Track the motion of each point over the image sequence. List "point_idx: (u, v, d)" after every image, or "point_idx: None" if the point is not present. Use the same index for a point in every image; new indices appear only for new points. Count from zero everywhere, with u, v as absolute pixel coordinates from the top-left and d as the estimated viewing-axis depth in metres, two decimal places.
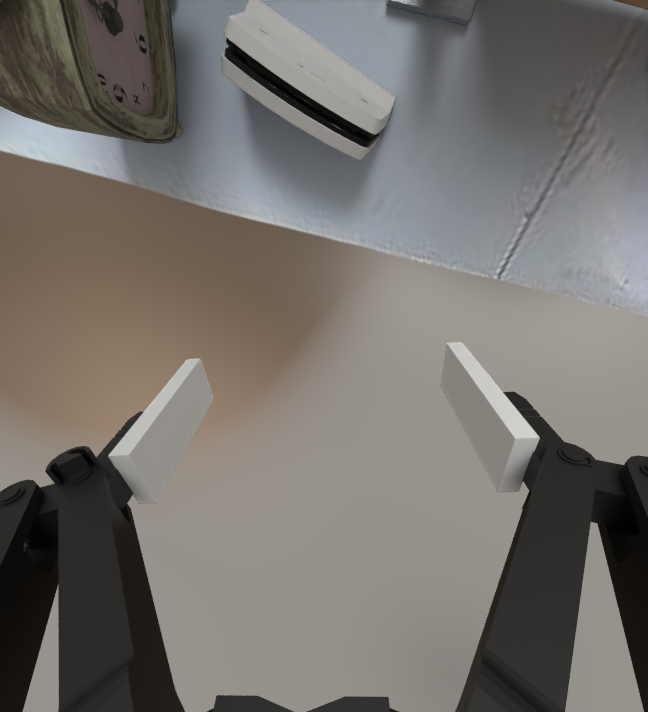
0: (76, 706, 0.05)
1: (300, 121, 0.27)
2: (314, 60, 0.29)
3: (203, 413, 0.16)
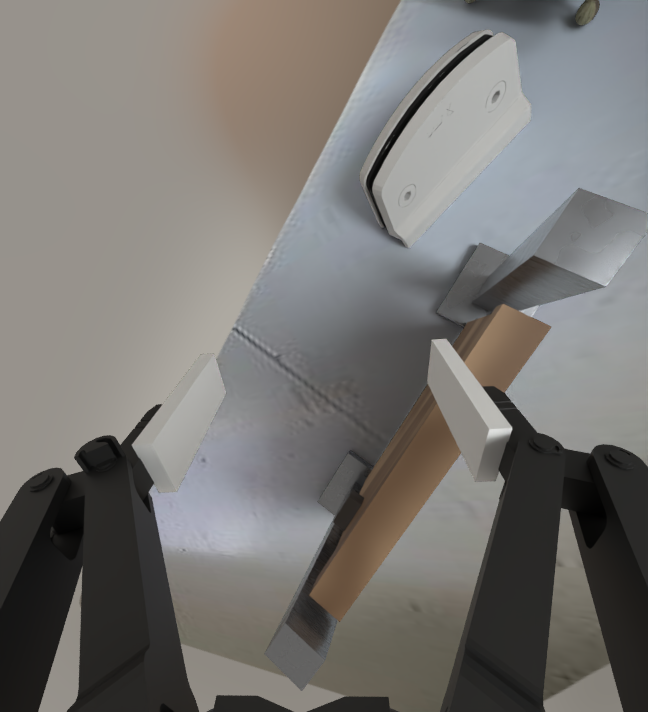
0: (93, 692, 0.05)
1: (404, 102, 0.26)
2: (459, 160, 0.29)
3: (216, 407, 0.16)
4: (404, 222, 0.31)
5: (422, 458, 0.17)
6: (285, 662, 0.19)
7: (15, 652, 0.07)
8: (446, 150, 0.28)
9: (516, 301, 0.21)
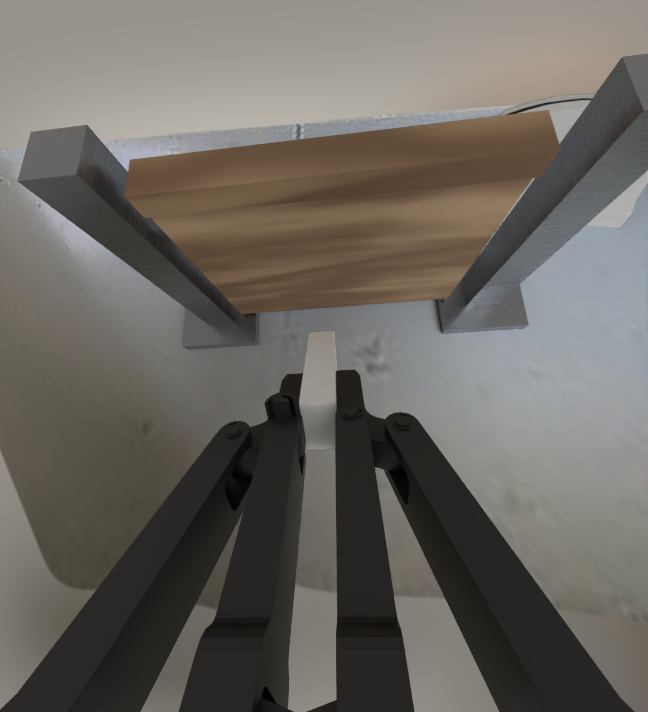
0: (224, 630, 0.06)
1: (583, 94, 0.27)
2: None
3: None
4: None
5: (359, 147, 0.15)
6: (38, 150, 0.14)
7: (177, 581, 0.08)
8: None
9: (513, 239, 0.21)
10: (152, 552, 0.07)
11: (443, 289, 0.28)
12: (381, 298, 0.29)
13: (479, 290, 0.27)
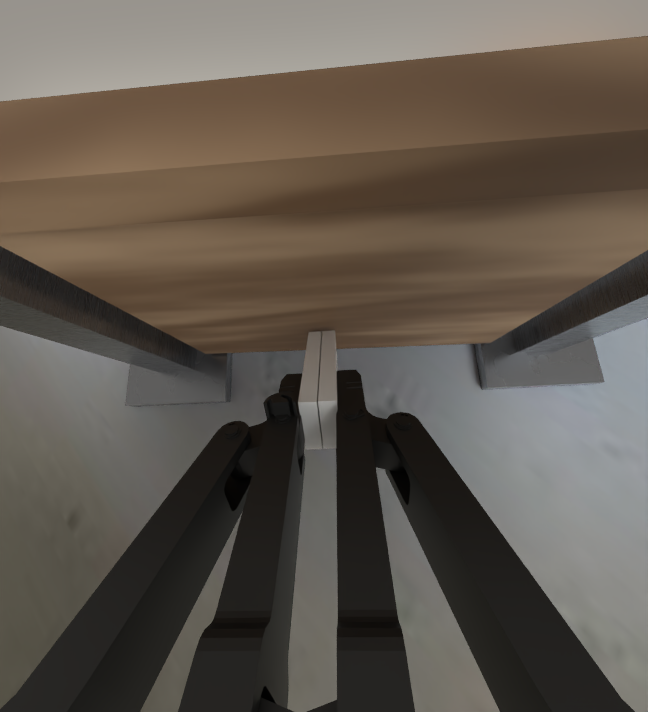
0: (223, 631, 0.06)
1: None
2: None
3: None
4: None
5: (407, 94, 0.06)
6: None
7: (177, 581, 0.08)
8: None
9: (631, 278, 0.13)
10: (151, 552, 0.07)
11: (489, 334, 0.20)
12: (400, 342, 0.21)
13: (543, 338, 0.19)
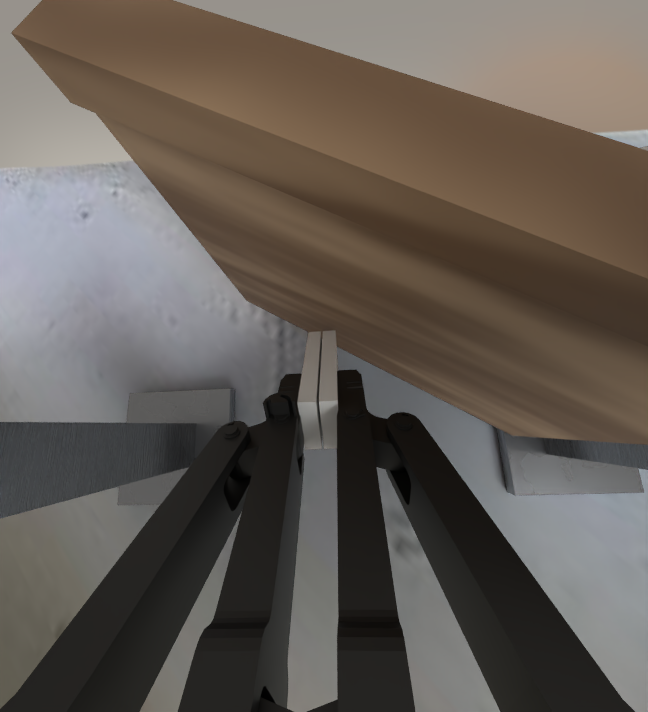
0: (222, 630, 0.06)
1: None
2: None
3: None
4: None
5: (538, 162, 0.05)
6: None
7: (176, 582, 0.08)
8: None
9: None
10: (150, 553, 0.07)
11: (514, 428, 0.18)
12: (424, 386, 0.20)
13: (581, 456, 0.17)
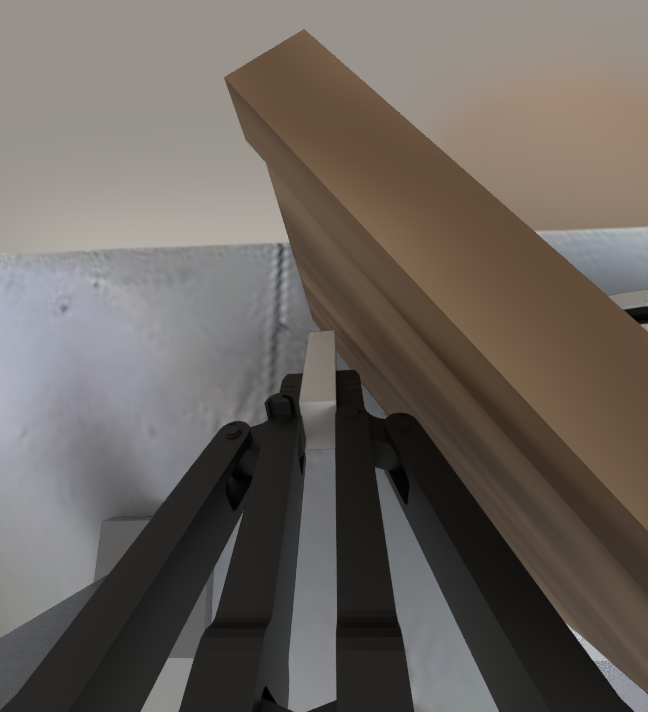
0: (223, 631, 0.06)
1: None
2: None
3: None
4: None
5: None
6: None
7: (177, 581, 0.08)
8: None
9: None
10: (152, 552, 0.07)
11: None
12: None
13: None
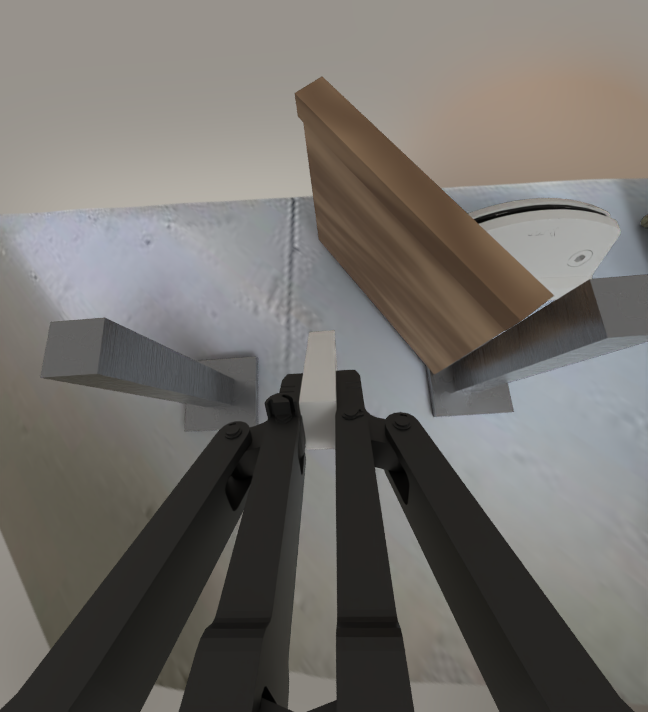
0: (224, 630, 0.06)
1: (532, 200, 0.29)
2: None
3: None
4: None
5: (426, 195, 0.18)
6: (59, 344, 0.15)
7: (177, 581, 0.08)
8: (526, 259, 0.31)
9: (498, 363, 0.23)
10: (152, 552, 0.07)
11: (433, 362, 0.30)
12: (396, 324, 0.33)
13: (467, 385, 0.29)
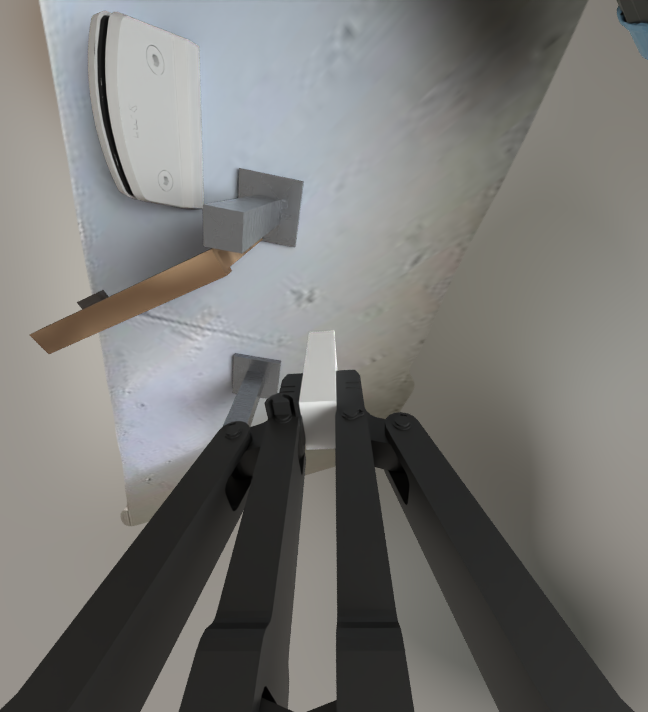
0: (223, 630, 0.06)
1: (97, 121, 0.29)
2: (176, 122, 0.34)
3: None
4: (182, 196, 0.37)
5: (133, 299, 0.27)
6: None
7: (177, 581, 0.08)
8: (160, 128, 0.32)
9: None
10: (152, 552, 0.07)
11: None
12: None
13: (273, 227, 0.37)
